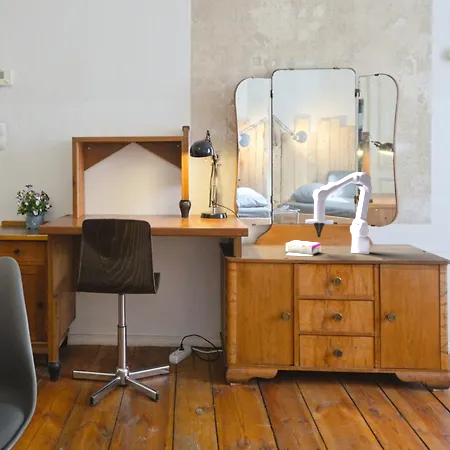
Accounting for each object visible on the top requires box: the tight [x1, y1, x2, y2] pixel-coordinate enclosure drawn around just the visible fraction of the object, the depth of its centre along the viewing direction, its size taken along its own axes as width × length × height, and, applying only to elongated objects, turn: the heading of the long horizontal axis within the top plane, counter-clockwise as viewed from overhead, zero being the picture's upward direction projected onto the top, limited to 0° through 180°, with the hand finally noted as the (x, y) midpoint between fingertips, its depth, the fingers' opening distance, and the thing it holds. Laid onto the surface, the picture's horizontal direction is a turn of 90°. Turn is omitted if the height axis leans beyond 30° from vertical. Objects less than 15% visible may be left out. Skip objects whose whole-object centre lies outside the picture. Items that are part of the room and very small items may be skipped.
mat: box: [285, 252, 314, 257], centre depth 244 cm, size 14×16×1 cm
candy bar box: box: [285, 240, 322, 255], centre depth 247 cm, size 11×5×16 cm
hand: (318, 237), depth 241 cm, fingers closed
